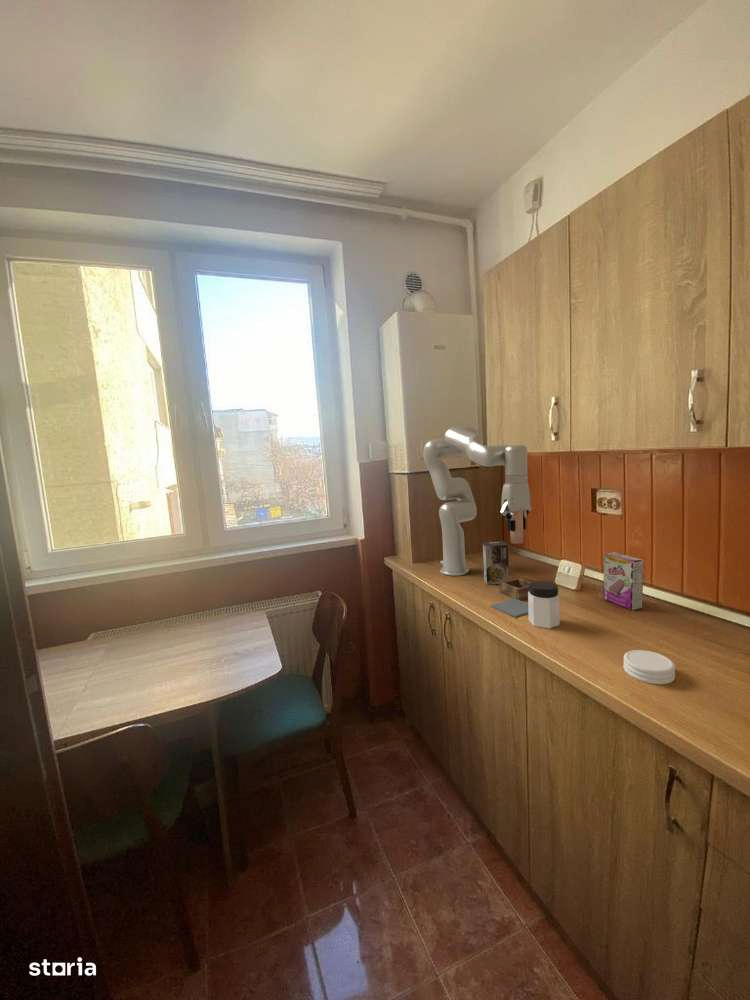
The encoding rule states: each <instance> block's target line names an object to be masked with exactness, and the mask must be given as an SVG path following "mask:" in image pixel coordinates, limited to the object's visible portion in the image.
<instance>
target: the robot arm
mask: <svg viewBox="0 0 750 1000" xmlns="http://www.w3.org/2000/svg"><path fill="white" fill-rule="evenodd" d="M527 448H528V447H527V446H526V445H523V444H516V445H515V444H514V445H507V444H506V445H505V444H501V445H500V444H499V445H484V444H483V439H482V437H481V435H480V434H479V433H478V431H477V429H476V428H475V427H472V426H471V425H470V426H468V425H467V426H466V425H465V426H463V425H462V426H453V427H450V428H448V429H447V430H446V432H445V434H444V438H439V439H432V440H429V441H427V443H425V445H424V447H423V451H422V455H423V461H424V463H425V466H426V469H427V470H428V471H429V474H430V476H431V477H430V478H431V481H432V484H433V487H434V491H435V494H436V496H437V498H438V499H439V500H442V501H449V500H455V501H449V502H445V503H443V504H442V505H441V506H440V507H439V510H438V516H439V521H440V524H441V525H440V526H441V535H442V537H441V538H442V556H443V557H442V560H440V563H439V564H441V565H442V567H441V568H440V573H441V574H442V575H445V576H453V577H455V576H456V577H457V576H464V575H467V574H469V572H470V569H469V567H467V566H466V553H465V551H466V550H465V547H466V545H465V532H464V529H463V528H462V525H461V524H460V523H464V522H468V521H472V520H474V519H475V518H476V516H477V515H478V514H477V513H478V512H477V511H478V510H477V505H476V502H475V498H474V496H473V493H472V490H471V485H470V484H469V482H468V481H467V479H465V478H463V477H453V476H452V475H451V472H450V469H449V467H448V465H447V464H446V463H445V462H444V461H443V460H442V459H447V458H448V459H450V458H456V457H459V456H461V455H462V454H464V453H465V454H466V456H467V458H468V459H469V460H470V461H472V462H473V463H475V464H477V465H480V466H483V467H488V468H490V467H496V466H497V467H498V466H499V467H501V466H504V480H505V482H504V483H503V486H502V492H501V503H500V507H501V510H500V514H501V515H502V516H504V518H505V520H506V521H507V522H506V523H507V531H515V520H514V515H515V512H517V511H519V509H520V508H522V509H523V530H527V525H526V523H527V518H528V515H529V513H530V512H531V511H532V510H533V507H532V505H531V494H530V486H529V483H528V480H529V476H528V449H527ZM510 513H511V515H510Z"/></svg>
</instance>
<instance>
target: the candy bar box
mask: <svg viewBox="0 0 750 1000" xmlns="http://www.w3.org/2000/svg"><path fill="white" fill-rule="evenodd" d="M602 582H603V587H602V588H603V594H602V595H603V596H602V597H603V598H602V599H603V600H604V601H607V602H609V603H612V604H614V605H617V606H619V607H622V608H625V609H627V610H629V611H637V610H639V609H640V608H641V609H643V599H644V598H643V597H644V596H643V592H644V586H643V585H644V559H641V558H639V557H634V556H629V555H626V554H623V553H619V552H615V551H613V552H607V553H606V552H605V553H604V554H603V581H602ZM636 609H637V610H636Z"/></svg>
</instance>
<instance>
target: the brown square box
mask: <svg viewBox="0 0 750 1000" xmlns="http://www.w3.org/2000/svg"><path fill="white" fill-rule="evenodd" d="M532 582H533V581H530V580H529V581H528V580H526V579H523V578H519V577H518V578H517V577H516V578H513V579H509V580H508V581H504V582H501V583H500V584H499V593H500V594H501V595H504V596H506V597H509V598H512V599H514V598H515V599H517V600H520V601H523V600H525V599H528V592H529V584H530V583H532Z"/></svg>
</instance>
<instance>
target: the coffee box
mask: <svg viewBox="0 0 750 1000" xmlns="http://www.w3.org/2000/svg"><path fill="white" fill-rule="evenodd" d="M482 559H483V561H482V562H483V581H484V583H485V584H486V585H500V583H501V582H504V581H508V580H510V567H509V565H510V564H509V544H507V542H506V541H486V542H485V541H484V542H482Z"/></svg>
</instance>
